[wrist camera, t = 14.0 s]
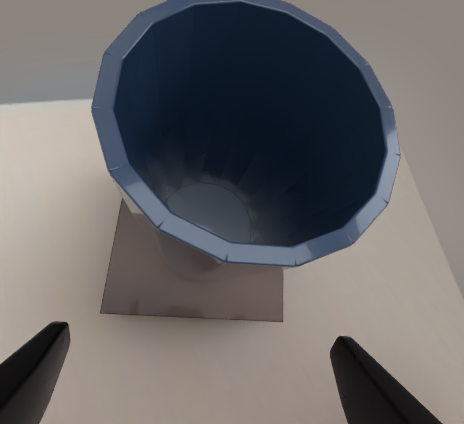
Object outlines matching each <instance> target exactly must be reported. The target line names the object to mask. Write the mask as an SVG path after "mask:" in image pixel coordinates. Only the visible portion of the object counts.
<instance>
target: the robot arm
mask: <svg viewBox="0 0 464 424" xmlns="http://www.w3.org/2000/svg"><path fill="white" fill-rule="evenodd" d="M69 346H70V332H69V325H68V323H67V322H58V321H55V322H52V323H50V324H49V325H47V326H46V327H45V328H44V329H43V330H41V331H40V332H39V333H38V334H37V335H35V336H34V337H33V338H32V339H30V340H29V341H28V342H27V343H26V344H24V345H23V346H22V347H21V348H19V349H18V350H17V351H16V352H15V353H13V354H12V355H11V356H10V357H9V358H7V359H6V360H5V361H4V362H2V363H1V364H0V424H39V423H40V421H41V419H42V417H43V415H44V413H45V410H46V408H47V406H48V404H49V401H50V399H51V396H52V393H53V391H54V388H55V385H56V382H57V380H58V377H59V374H60V371H61V368H62V366H63V363H64V360H65V357H66V355H67V352H68V349H69ZM330 358H331V362H332V366H333V371H334V375H335V379H336V383H337V387H338V391H339V395H340V399H341V403H342V406H343V409H344V412H345V415H346V418H347V421H348V424H442V423H441V422H440V421H439V420H438V419H437V418H436V417H435V416H434V415H433V414H432V413H430V412H429V411H428V410H427V409H426V408H425V407H424V406H423V405H422V404H421V403H420V402H419V401H418V400H417V399H416V398H415V397H414V396H413V395H411V394H410V393H409V392H408V391H407V390H406V389H405V388H404V387H403V386H402V385H401V384H400V383H399V382H398V381H397V380H396V379H395V378H394V377H392V376H391V375H390V374H389V373H388V372H387V371H386V370H385V369H384V368H383V367H382V366H381V365H380V364H379V363H378V362H377V361H376V360H375V359H373V358H372V357H371V356H370V355H369V354H368V353H367V352H366V351H365V350H364V349H363V348H362V347H361V346H360V345H359V344H358V343H357V342H356V341H354V340H353V339H352V338H351V337H348V336H339V337H338V338H337V339H336V341H335V343H334V345H333V346H332V348H331V350H330Z"/></svg>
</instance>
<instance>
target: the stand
mask: <svg viewBox="0 0 464 424" xmlns="http://www.w3.org/2000/svg"><path fill="white" fill-rule="evenodd" d="M100 313H101V314H123V315H144V316H166V317H187V318H209V319H230V320H251V321H273V322H283V270H277V271H272V272H266V273H261V274H255V275H250V276H244V277H239V278H234V279H228V280H223V281H217V282H193V281H189V280H187V279H184V278H182V277H180V276H178V275H176V274H174V273H172V272H171V271H169V270H168V268H167V267H166V266H165V265H164V264H163V263H162V261H161V260H160V259H159V258H158V257H157V255H156V254H155V252H154V251H153V249H152V247H151V245H150V244H149V242H148V240H147V238H146V237H145V235H144V233H143V231H142V230H141V228H140V226H139V225H138V223H137V221H136V219H135V218H134V216H133V214H132V212H131V211H130V209H129V207H128V205H127V204H126V202H125V200H124V198H123V197H122V201H121V206H120V212H119V217H118V222H117V227H116V232H115V238H114V243H113V248H112V253H111V258H110V263H109V269H108V274H107V279H106V284H105V289H104V294H103V300H102V305H101V310H100Z"/></svg>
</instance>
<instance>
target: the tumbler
mask: <svg viewBox="0 0 464 424" xmlns="http://www.w3.org/2000/svg"><path fill="white" fill-rule="evenodd" d="M91 108H92V111H91V112H92V116H93V120H94V123H95V127H96V130H97V134H98V138H99V141H100V145H101V149H102V152H103V156H104V159H105V163H106V167H107V170H108V172H109V174H110V176H111V178H112V179H113V181H114V183H115V185H116V186H117V188H118V190H119V192H120V193H121V195H122V197H123V198H124V200H125V202H126V204H127V205H128V207H129V209H130V211H131V212H132V214H133V216H134V218H135V219H136V221H137V223H138V225H139V226H140V228H141V230H142V231H143V233H144V235H145V237H146V238H147V240H148V242H149V244H150V245H151V247H152V249H153V251H154V252H155V254H156V255H157V257H158V258H159V259H160V260H161V261H162V263H163V264H164V265H165V266H166V267H167V268H168V270H169V271H171V272H172V273H174V274H176V275H178V276H180V277H182V278H184V279H187V280H189V281H193V282H217V281H223V280H228V279H234V278H239V277H244V276H250V275H255V274H261V273H266V272H272V271H277V270H283V269H288V268H294V267H298V266H301V265H303V264H306V263H309V262H311V261H314V260H316V259H319V258H321V257H324V256H326V255H329V254H331V253H334V252H336V251H339V250H341V249H344V248H347V247H349V246H351V245H352V244H354V243H355V242H356V241H357V240H358V238H359V237H360V236H361V235H362V234H363V233H364V232H365V230H366V229H367V228H368V227H369V226H370V225H371V224H372V222H373V221H374V220H375V219H376V218H377V217H378V216H379V214H380V213H381V212H382V211H383V210H384V209H385V208H386V206H387V205H388V203H389V200H390V196H391V192H392V188H393V185H394V181H395V177H396V173H397V169H398V165H399V161H400V148H399V141H398V136H397V129H396V122H395V116H394V110H393V108H392V105H391V103H390V101H389V99H388V97H387V95H386V93H385V92H384V90H383V88H382V86H381V84H380V82H379V81H378V79H377V77H376V75H375V73H374V71H373V69H372V68H371V66H370V65H369V63H368V62H367V61H366V60H365V59H364V58H363V57H362V56H361V55H360V54H359V53H358V52H357V51H356V50H355V49H354V48H353V47H352V46H351V45H350V44H349V43H348V42H347V41H346V40H345V39H344V38H343V37H342V36H341V35H340V34H339V33H338V32H337V31H336V30H335V29H333V28H332V27H331V26H329V25H328V24H326V23H324V22H322V21H321V20H319V19H317V18H315V17H314V16H312V15H310V14H308V13H307V12H305V11H303V10H301V9H299V8H298V7H296V6H294V5H293V4H291V3H288V2H286V1H282V0H167V1H165V2H163V3H160V4H158V5H156V6H153V7H151V8H149V9H147V10H145V11H142V12H140V14H138V15H136V17H135V18H134V19H133V20H132V21H131V22H130V24H128V26H127V27H126V28H125V29H124V30H123V31H122V32H121V34H120V35H119V36H118V37H117V38H116V39H115V40H114V41H113V43H112V44H111V45H110V46H109V47H108V48H107V49H106V51H105V53H104V54H103V58H102V62H101V67H100V71H99V76H98V80H97V85H96V89H95V94H94V98H93V102H92V106H91Z"/></svg>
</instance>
